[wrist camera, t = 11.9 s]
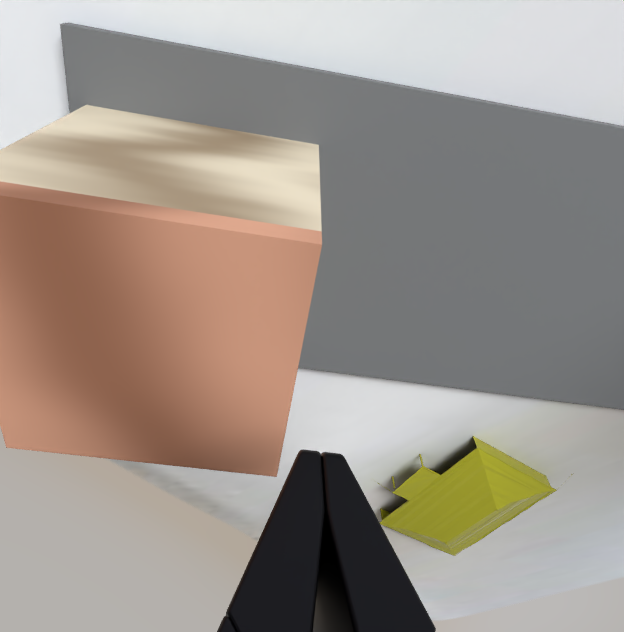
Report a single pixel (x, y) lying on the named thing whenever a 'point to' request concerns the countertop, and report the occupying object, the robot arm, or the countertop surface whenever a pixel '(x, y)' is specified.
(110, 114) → the birch cube
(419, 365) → the charcoal mat
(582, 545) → the countertop surface
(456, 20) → the countertop surface
